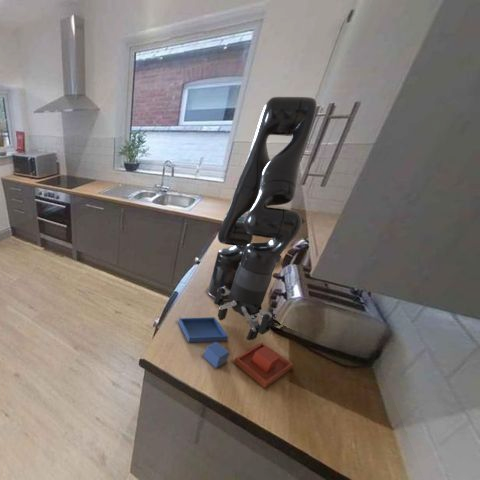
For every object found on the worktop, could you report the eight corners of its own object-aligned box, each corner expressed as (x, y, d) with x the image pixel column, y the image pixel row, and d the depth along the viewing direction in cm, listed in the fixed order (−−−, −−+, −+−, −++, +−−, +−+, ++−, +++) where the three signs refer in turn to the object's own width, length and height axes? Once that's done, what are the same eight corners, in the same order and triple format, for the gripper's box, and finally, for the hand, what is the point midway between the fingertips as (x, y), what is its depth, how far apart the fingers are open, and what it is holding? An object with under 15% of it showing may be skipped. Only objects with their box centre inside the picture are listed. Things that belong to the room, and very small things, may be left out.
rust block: (259, 356, 80) (264, 346, 78) (275, 367, 76) (280, 357, 74) (251, 361, 78) (255, 351, 76) (266, 373, 74) (271, 363, 72)
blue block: (213, 351, 82) (216, 341, 80) (225, 362, 79) (229, 352, 77) (203, 357, 80) (206, 346, 78) (216, 368, 77) (219, 358, 75)
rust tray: (259, 346, 84) (261, 342, 83) (290, 369, 76) (293, 364, 75) (233, 362, 78) (235, 357, 78) (264, 388, 71) (266, 383, 70)
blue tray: (213, 321, 94) (214, 317, 93) (226, 341, 86) (228, 336, 85) (178, 322, 94) (179, 318, 93) (188, 342, 86) (189, 337, 85)
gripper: (289, 292, 62) (268, 341, 69) (234, 265, 73) (221, 309, 80) (271, 302, 59) (251, 351, 66) (217, 272, 70) (204, 317, 77)
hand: (234, 328), depth 73 cm, fingers open, 8 cm apart
